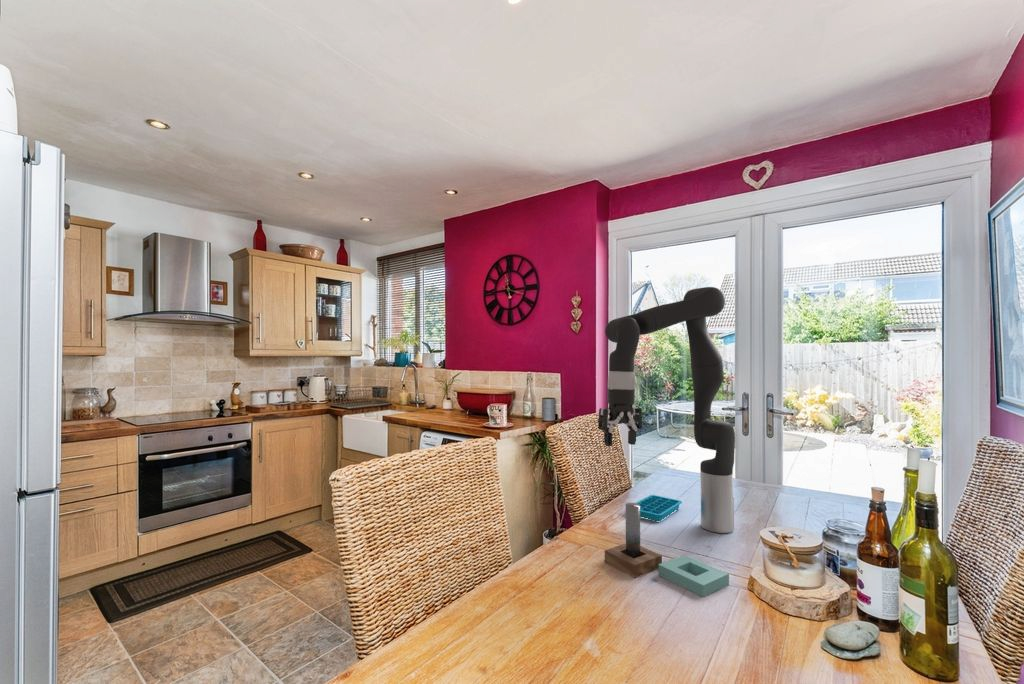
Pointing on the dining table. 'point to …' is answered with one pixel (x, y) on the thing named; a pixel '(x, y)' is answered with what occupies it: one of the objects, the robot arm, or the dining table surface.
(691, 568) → the teal square hole base
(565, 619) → the dining table surface
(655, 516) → the ice cube tray
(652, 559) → the socket block
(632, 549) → the rod
